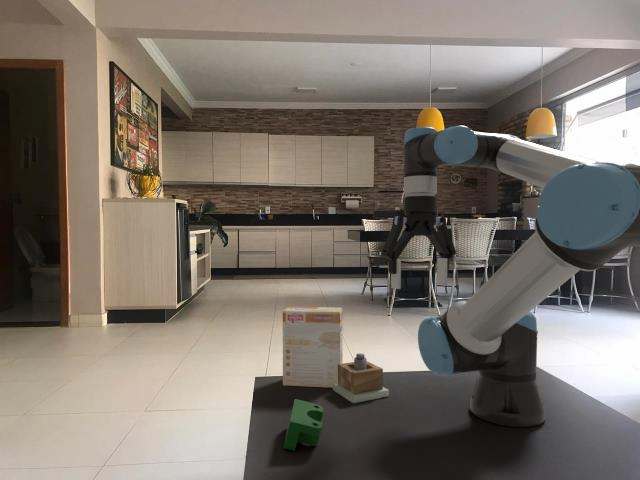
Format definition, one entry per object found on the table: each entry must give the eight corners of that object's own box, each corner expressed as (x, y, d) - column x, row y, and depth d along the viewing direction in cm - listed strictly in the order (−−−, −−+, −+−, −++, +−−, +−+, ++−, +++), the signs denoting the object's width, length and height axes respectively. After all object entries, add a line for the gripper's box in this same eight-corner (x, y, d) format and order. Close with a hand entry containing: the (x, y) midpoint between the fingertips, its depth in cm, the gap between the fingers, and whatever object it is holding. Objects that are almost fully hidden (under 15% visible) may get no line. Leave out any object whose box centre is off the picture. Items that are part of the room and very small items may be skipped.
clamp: (310, 472, 86) (321, 437, 82) (279, 463, 86) (288, 428, 82) (318, 422, 97) (328, 389, 93) (290, 415, 97) (299, 382, 93)
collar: (382, 389, 113) (382, 368, 112) (354, 394, 109) (354, 373, 109) (365, 379, 120) (365, 360, 120) (337, 384, 116) (337, 364, 116)
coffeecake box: (343, 379, 124) (343, 307, 124) (340, 389, 117) (340, 311, 117) (288, 377, 126) (288, 305, 126) (282, 386, 119) (282, 310, 119)
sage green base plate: (388, 396, 112) (389, 357, 112) (353, 403, 108) (353, 362, 107) (366, 383, 121) (366, 347, 121) (332, 389, 116) (332, 352, 116)
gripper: (449, 198, 118) (449, 282, 118) (366, 195, 106) (365, 287, 107) (471, 196, 111) (471, 285, 111) (385, 192, 100) (384, 291, 100)
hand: (419, 286), depth 109 cm, fingers open, 13 cm apart
